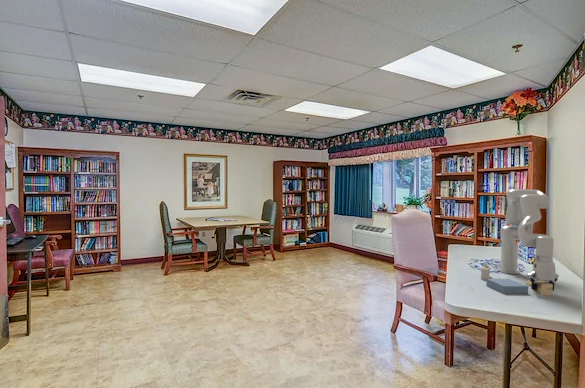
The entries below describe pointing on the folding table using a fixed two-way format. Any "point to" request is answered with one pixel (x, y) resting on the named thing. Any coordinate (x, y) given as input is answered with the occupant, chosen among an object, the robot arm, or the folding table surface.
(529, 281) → the hand bell
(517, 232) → the robot arm
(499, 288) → the slate base
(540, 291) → the oak cube
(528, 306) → the folding table surface
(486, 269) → the model
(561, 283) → the folding table surface
